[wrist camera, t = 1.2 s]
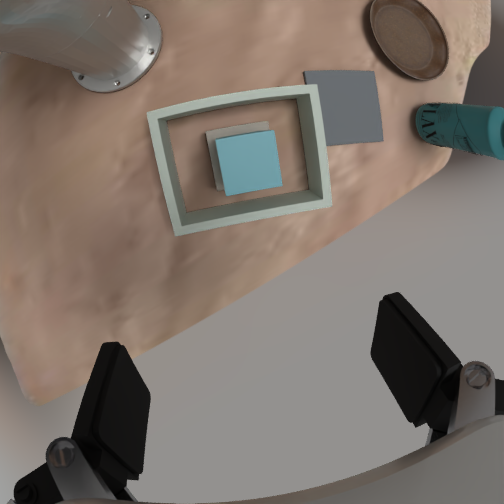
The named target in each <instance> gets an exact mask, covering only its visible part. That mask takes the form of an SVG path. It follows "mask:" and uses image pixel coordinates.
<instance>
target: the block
mask: <svg viewBox="0 0 504 504" xmlns="http://www.w3.org/2000/svg"><path fill="white" fill-rule="evenodd" d="M215 141H216V146H217V152H218V157H219V162H220V167H221V172H222V178H223V183H224V188H225V193H226V196H230V195H235V194H240V193H245V192H251V191H256V190H262V189H267V188H273V187H279V186H282V179H281V172H280V165H279V159H278V152H277V146H276V139H275V133H274V130H263V131H255V132H249V133H243V134H237V135H231V136H226V137H221V138H216V140H215Z"/></svg>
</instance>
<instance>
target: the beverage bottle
mask: <svg viewBox="0 0 504 504" xmlns="http://www.w3.org/2000/svg"><path fill="white" fill-rule="evenodd" d="M416 127H417V131H418V133H419V135H420V136H421V137H422V139H423V140H425V141H426V142H428V144H429V143H430V145H431V144H433V145H437V146H440V147H449V148H450V147H451V148H453V149H454V148H456V149H460V150H465V151H469V152H473V153H475V154H476V153H478V154H480V155H481V154H482V155H487V156H491V157H494V158H497V159H499V160H504V109H503V108H502V107H497V106H496V107H491V106H480V105H464V104H460V103H459V104H455V103H454V104H446V103H443V102H438V103H437V102H436V103H433V102H432V103H427V104H425V105H422V106H421V107H420V108H419V109H418V111H417V114H416Z"/></svg>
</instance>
